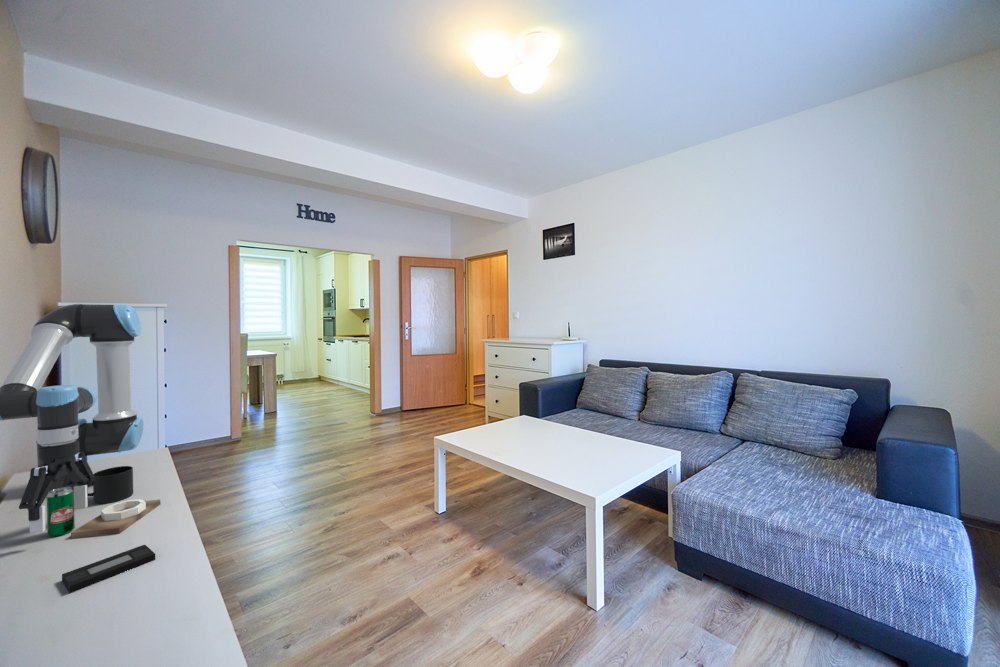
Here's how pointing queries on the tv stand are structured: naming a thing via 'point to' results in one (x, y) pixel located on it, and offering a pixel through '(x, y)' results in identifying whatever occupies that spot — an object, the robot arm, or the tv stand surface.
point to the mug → (112, 484)
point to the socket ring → (110, 512)
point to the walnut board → (112, 523)
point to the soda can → (60, 511)
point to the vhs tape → (107, 568)
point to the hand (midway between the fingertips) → (60, 519)
